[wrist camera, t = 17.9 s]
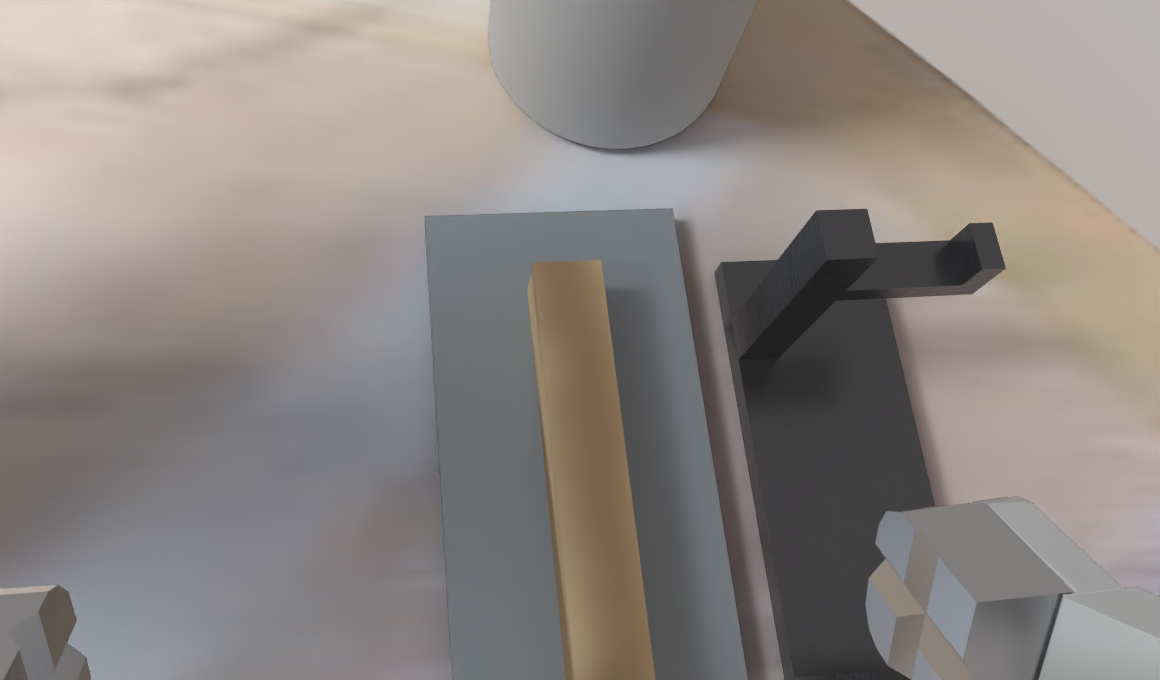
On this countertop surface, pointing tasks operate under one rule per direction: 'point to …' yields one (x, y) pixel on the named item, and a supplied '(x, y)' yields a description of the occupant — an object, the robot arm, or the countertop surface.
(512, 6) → the cylinder vase
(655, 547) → the rubber mat
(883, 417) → the hook stand
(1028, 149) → the countertop surface
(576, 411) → the oak rail
